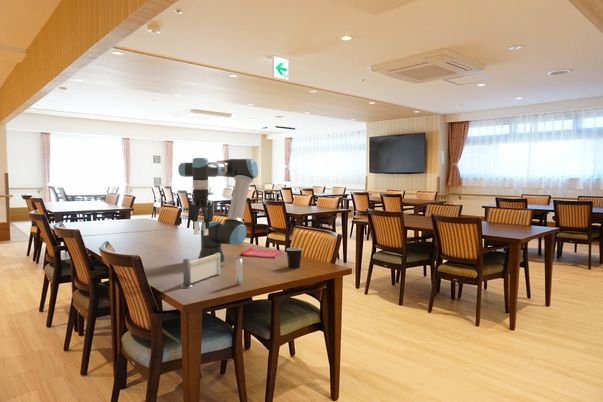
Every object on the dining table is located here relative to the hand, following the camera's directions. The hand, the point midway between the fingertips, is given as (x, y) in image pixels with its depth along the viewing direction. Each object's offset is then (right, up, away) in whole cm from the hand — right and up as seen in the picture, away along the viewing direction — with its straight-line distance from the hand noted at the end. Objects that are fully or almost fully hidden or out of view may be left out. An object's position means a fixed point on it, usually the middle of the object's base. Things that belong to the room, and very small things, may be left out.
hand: (201, 234), depth 200 cm
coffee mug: (+47, -20, +21) cm, 55 cm away
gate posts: (+9, -22, -17) cm, 29 cm away
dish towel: (+25, -18, +53) cm, 62 cm away
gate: (+3, -21, -9) cm, 23 cm away
